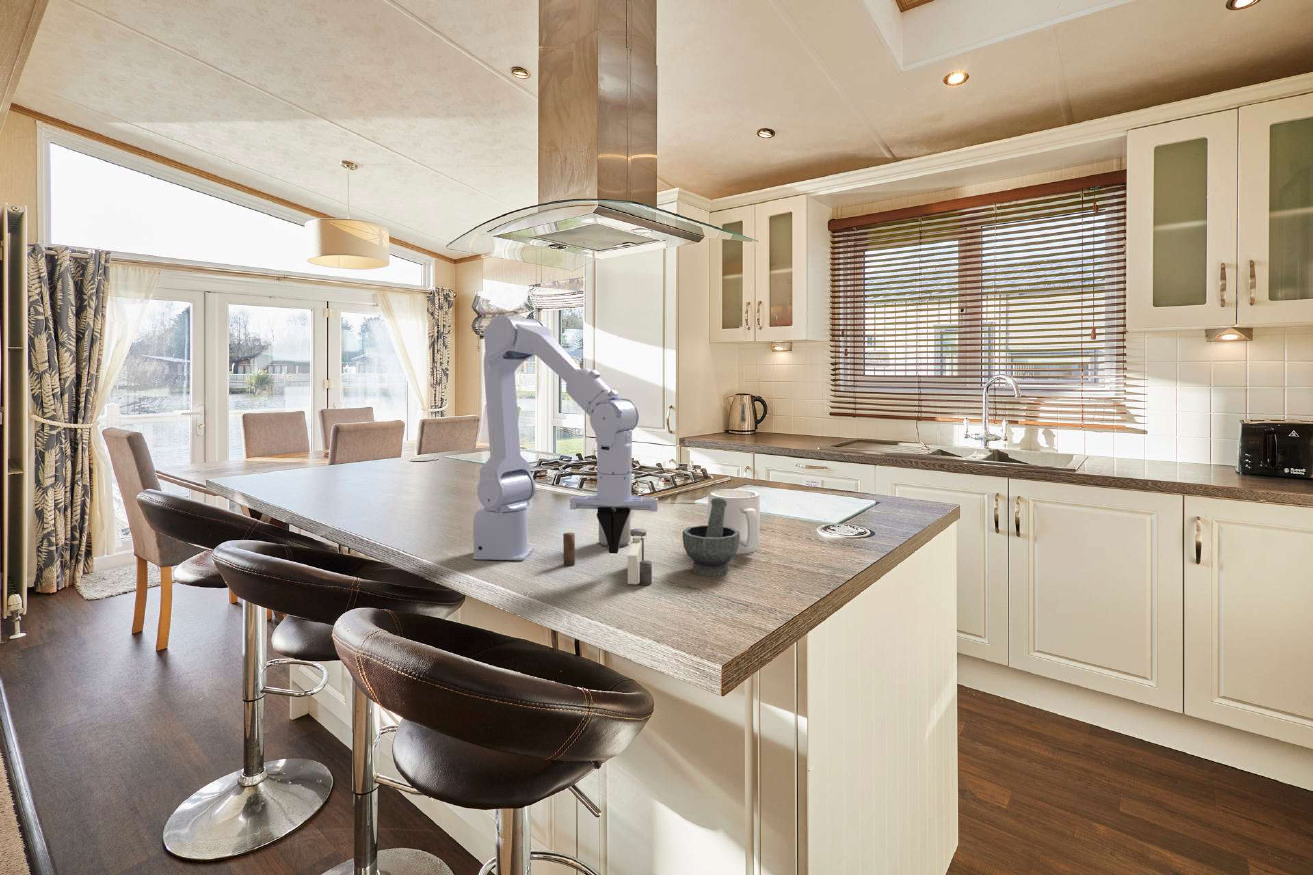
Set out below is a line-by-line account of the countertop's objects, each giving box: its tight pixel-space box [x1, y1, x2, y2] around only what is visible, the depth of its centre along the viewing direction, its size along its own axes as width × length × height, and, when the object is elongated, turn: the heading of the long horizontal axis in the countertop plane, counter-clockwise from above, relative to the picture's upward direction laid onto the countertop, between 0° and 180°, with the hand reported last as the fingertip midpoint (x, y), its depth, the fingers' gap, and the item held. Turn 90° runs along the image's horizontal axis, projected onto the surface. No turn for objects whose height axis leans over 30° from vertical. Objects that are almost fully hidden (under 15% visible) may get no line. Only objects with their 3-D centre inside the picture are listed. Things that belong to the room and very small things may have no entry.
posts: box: [562, 532, 653, 586], centre depth 108 cm, size 16×12×6 cm
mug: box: [707, 488, 761, 555], centre depth 124 cm, size 14×10×11 cm
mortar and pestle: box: [682, 498, 740, 577], centre depth 111 cm, size 11×9×12 cm
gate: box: [627, 528, 647, 585], centre depth 108 cm, size 12×3×6 cm, turn 177°
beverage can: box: [598, 510, 632, 548], centre depth 127 cm, size 6×6×12 cm
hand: (613, 551), depth 107 cm, fingers closed
